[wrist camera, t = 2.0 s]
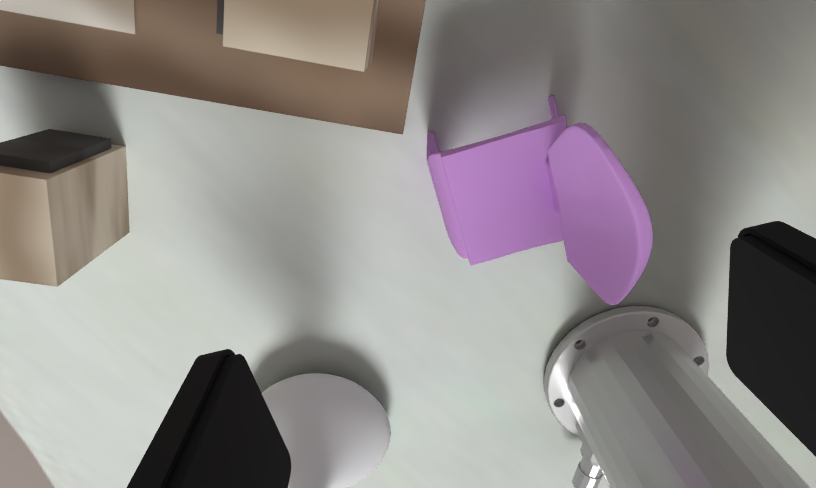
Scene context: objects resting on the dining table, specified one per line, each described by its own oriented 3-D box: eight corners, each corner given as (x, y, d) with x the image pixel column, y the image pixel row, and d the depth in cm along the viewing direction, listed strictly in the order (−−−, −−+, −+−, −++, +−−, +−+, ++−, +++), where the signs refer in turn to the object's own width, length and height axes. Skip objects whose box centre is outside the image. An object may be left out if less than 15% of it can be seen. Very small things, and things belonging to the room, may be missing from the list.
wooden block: (62, 222, 34) (-30, 275, 27) (52, 125, 31) (-52, 153, 24) (129, 232, 34) (57, 286, 27) (125, 137, 32) (44, 168, 24)
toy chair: (415, 119, 32) (432, 185, 18) (551, 78, 31) (677, 114, 17) (448, 235, 35) (484, 366, 21) (572, 200, 34) (692, 313, 20)
